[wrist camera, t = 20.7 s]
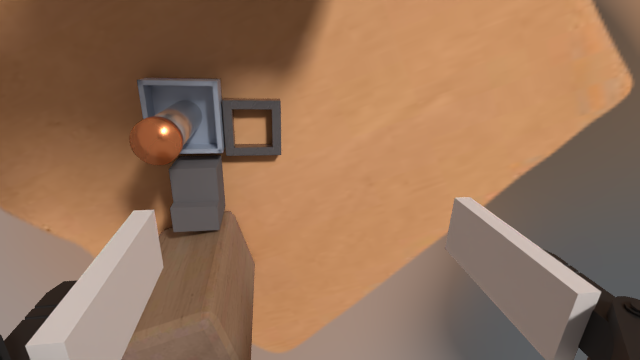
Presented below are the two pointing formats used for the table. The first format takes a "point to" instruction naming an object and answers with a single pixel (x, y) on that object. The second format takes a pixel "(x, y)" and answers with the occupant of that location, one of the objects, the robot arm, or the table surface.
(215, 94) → the tray
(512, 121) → the table surface
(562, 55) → the table surface
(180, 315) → the block
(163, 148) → the pin
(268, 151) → the socket
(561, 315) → the robot arm
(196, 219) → the dark grey stepped piece
